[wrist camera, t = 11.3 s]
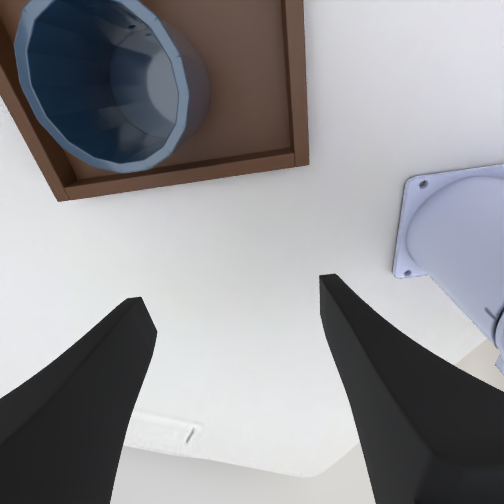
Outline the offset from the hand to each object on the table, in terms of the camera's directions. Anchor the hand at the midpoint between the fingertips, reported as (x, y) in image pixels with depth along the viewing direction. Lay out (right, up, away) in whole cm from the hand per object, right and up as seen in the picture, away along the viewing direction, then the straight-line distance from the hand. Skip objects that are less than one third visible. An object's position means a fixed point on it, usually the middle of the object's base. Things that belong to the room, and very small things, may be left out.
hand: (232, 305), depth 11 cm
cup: (-4, +12, +3) cm, 13 cm away
